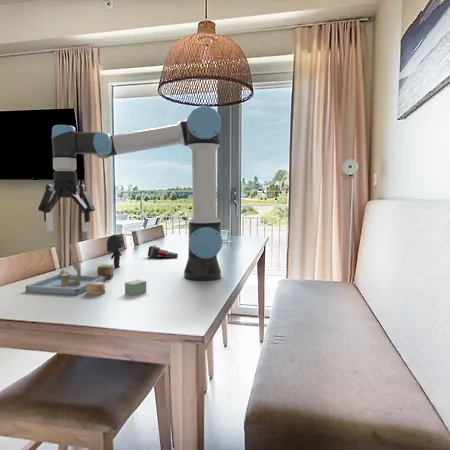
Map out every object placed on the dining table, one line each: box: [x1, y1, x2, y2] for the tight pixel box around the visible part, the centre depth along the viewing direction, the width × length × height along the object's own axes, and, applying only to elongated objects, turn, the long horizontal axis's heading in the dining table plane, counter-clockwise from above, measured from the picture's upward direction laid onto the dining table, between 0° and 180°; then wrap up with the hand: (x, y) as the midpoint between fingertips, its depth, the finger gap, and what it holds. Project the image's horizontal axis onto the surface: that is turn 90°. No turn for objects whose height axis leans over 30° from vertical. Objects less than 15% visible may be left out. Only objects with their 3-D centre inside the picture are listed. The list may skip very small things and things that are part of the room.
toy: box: [106, 234, 125, 269], centre depth 166 cm, size 9×8×15 cm
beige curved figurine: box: [59, 260, 82, 287], centre depth 133 cm, size 9×6×10 cm
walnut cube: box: [96, 264, 114, 281], centre depth 146 cm, size 5×5×5 cm
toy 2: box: [147, 244, 179, 259], centre depth 194 cm, size 9×6×15 cm
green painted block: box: [124, 279, 147, 297], centre depth 125 cm, size 4×6×4 cm, turn 148°
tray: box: [24, 273, 106, 296], centre depth 132 cm, size 19×19×2 cm
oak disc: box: [85, 282, 106, 297], centre depth 124 cm, size 6×6×3 cm
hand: (67, 231), depth 131 cm, fingers open, 13 cm apart
